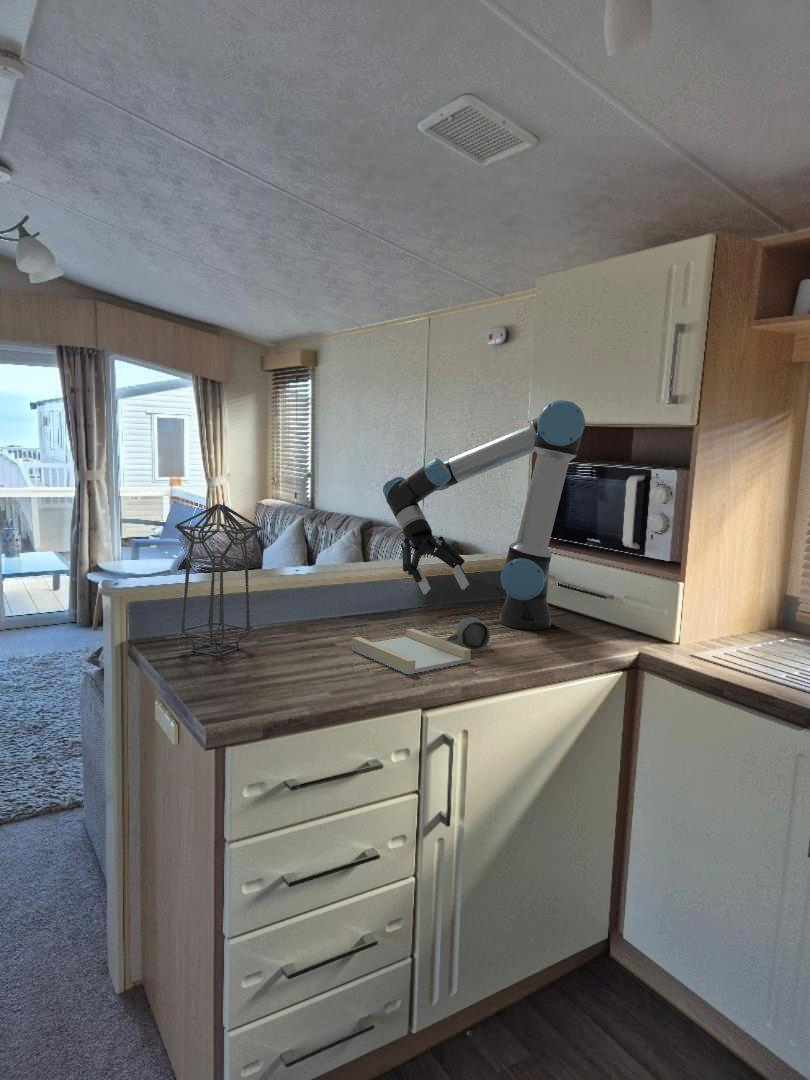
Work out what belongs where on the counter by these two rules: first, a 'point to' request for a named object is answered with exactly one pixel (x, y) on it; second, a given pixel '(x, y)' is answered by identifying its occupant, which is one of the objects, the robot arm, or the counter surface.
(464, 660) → the rail tray
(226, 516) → the geometric lantern
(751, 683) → the counter surface
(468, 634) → the ceramic mug
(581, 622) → the counter surface
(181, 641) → the counter surface
